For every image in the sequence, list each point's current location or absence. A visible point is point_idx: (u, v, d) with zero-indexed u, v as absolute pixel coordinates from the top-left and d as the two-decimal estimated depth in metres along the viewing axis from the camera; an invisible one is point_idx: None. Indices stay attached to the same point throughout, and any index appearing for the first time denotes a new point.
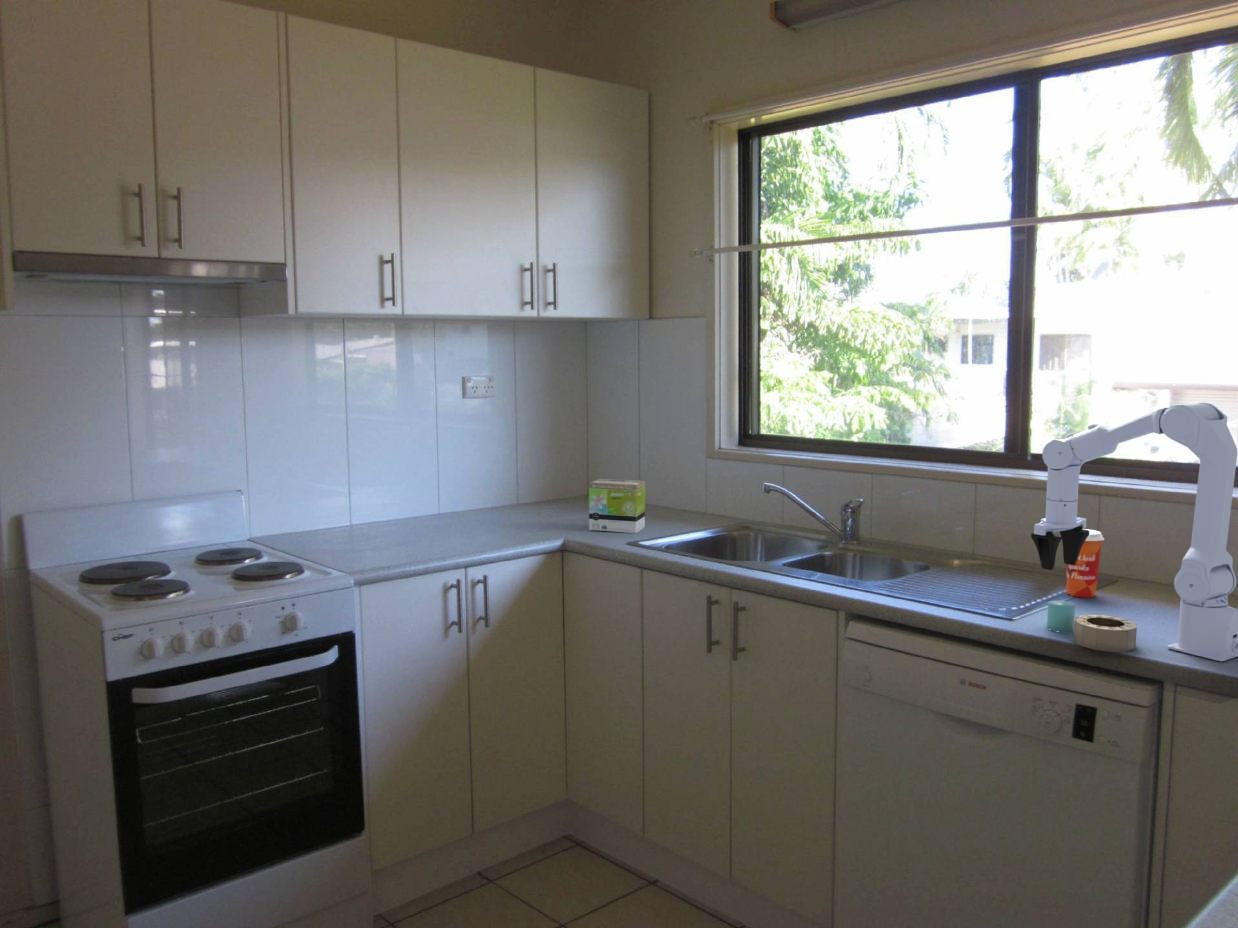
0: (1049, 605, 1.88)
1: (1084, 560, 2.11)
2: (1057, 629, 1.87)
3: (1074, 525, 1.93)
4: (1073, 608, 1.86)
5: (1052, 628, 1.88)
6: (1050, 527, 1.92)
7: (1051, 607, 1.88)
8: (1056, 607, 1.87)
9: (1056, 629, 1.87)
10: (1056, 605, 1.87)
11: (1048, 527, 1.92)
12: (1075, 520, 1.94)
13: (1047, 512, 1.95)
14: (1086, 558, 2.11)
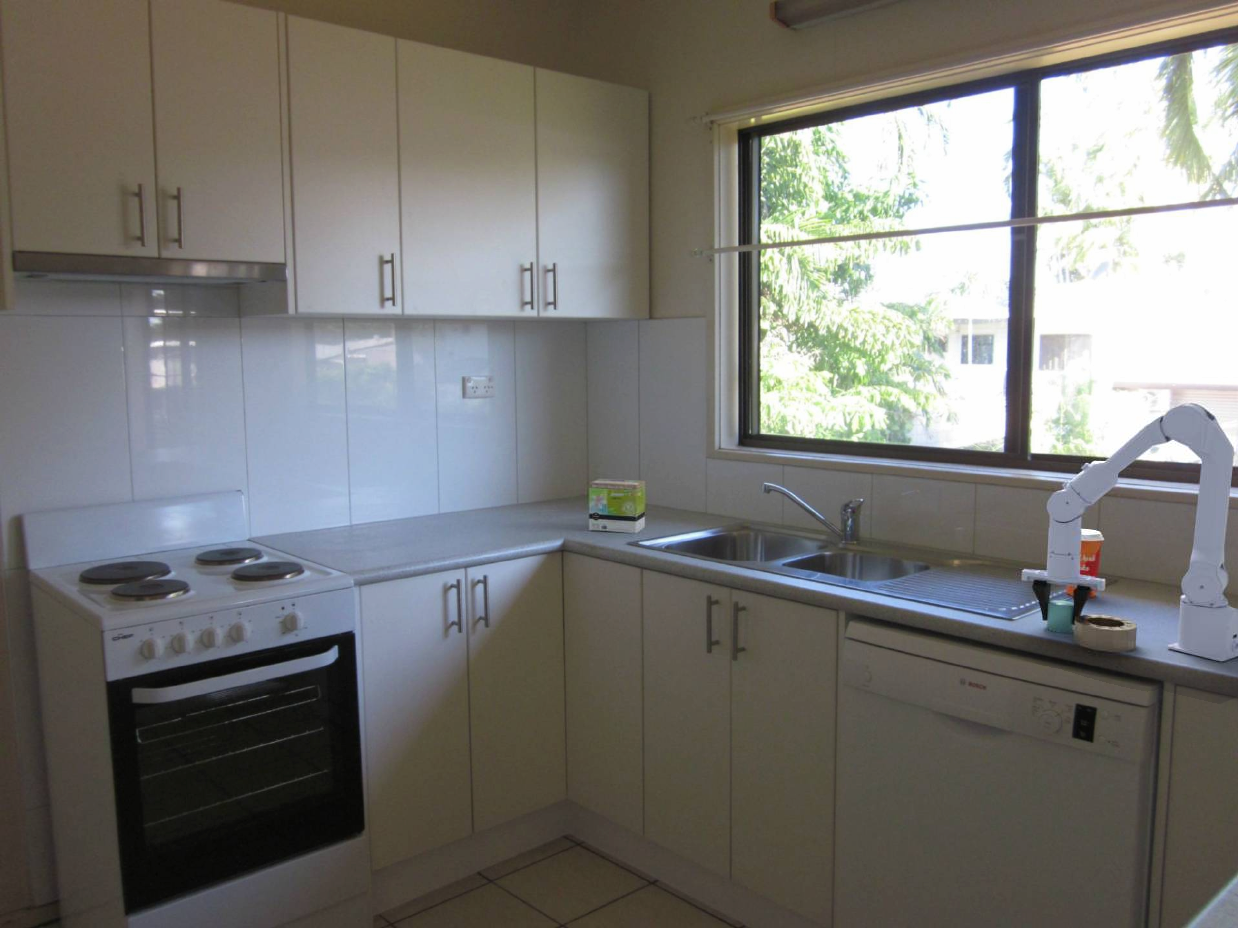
0: (1049, 605, 1.88)
1: (1084, 560, 2.11)
2: (1057, 629, 1.87)
3: (1058, 579, 1.85)
4: (1073, 608, 1.86)
5: (1052, 628, 1.88)
6: (1032, 575, 1.90)
7: (1051, 607, 1.88)
8: (1056, 607, 1.87)
9: (1056, 629, 1.87)
10: (1056, 605, 1.87)
11: (1029, 574, 1.90)
12: (1062, 575, 1.85)
13: None
14: (1086, 558, 2.11)
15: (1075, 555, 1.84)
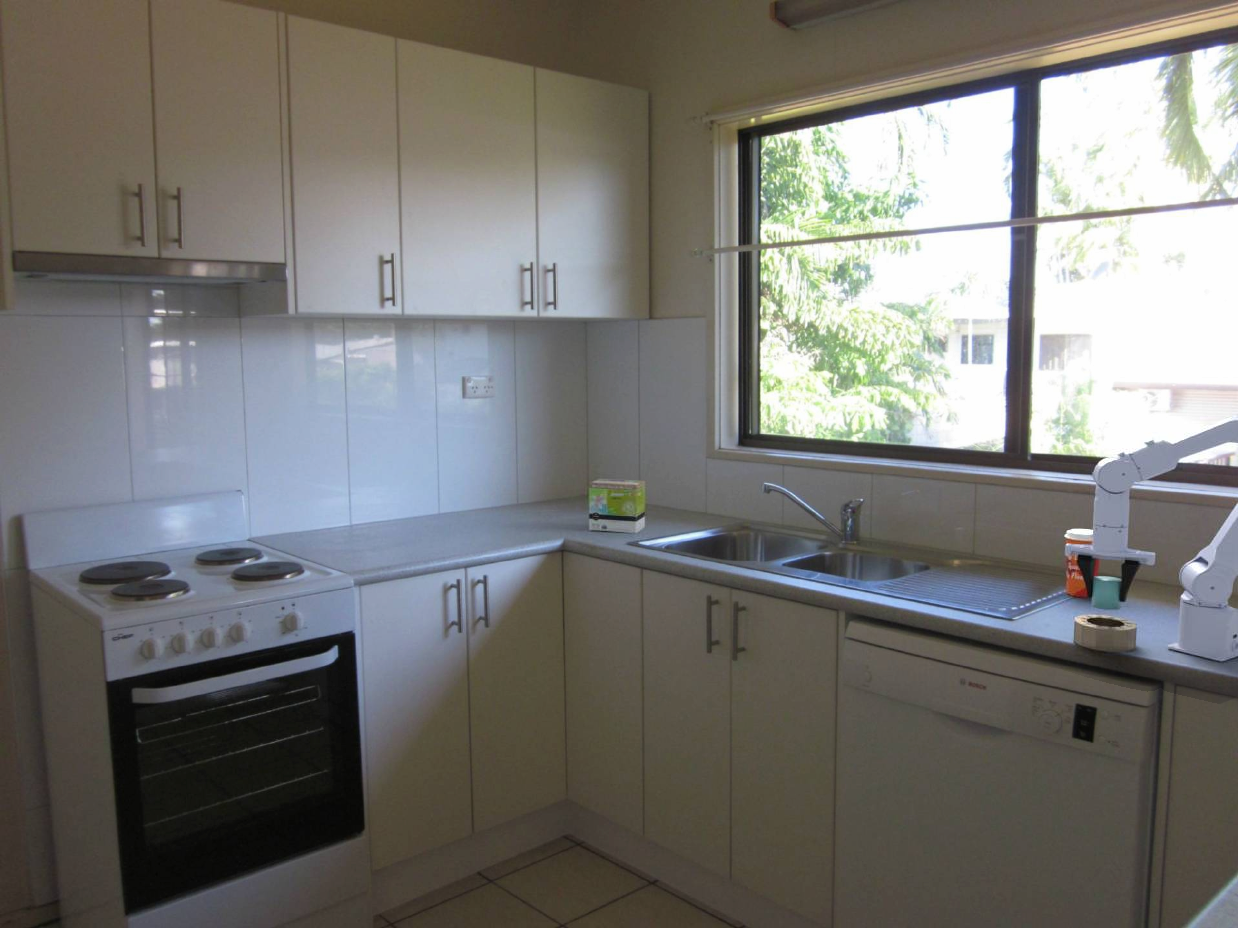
0: (1095, 581, 1.78)
1: None
2: (1104, 606, 1.77)
3: (1104, 553, 1.75)
4: (1120, 584, 1.76)
5: (1098, 605, 1.77)
6: (1076, 549, 1.79)
7: (1097, 583, 1.77)
8: (1103, 583, 1.76)
9: (1102, 606, 1.77)
10: (1102, 581, 1.77)
11: (1073, 548, 1.80)
12: (1109, 548, 1.75)
13: None
14: None
15: (1123, 527, 1.74)
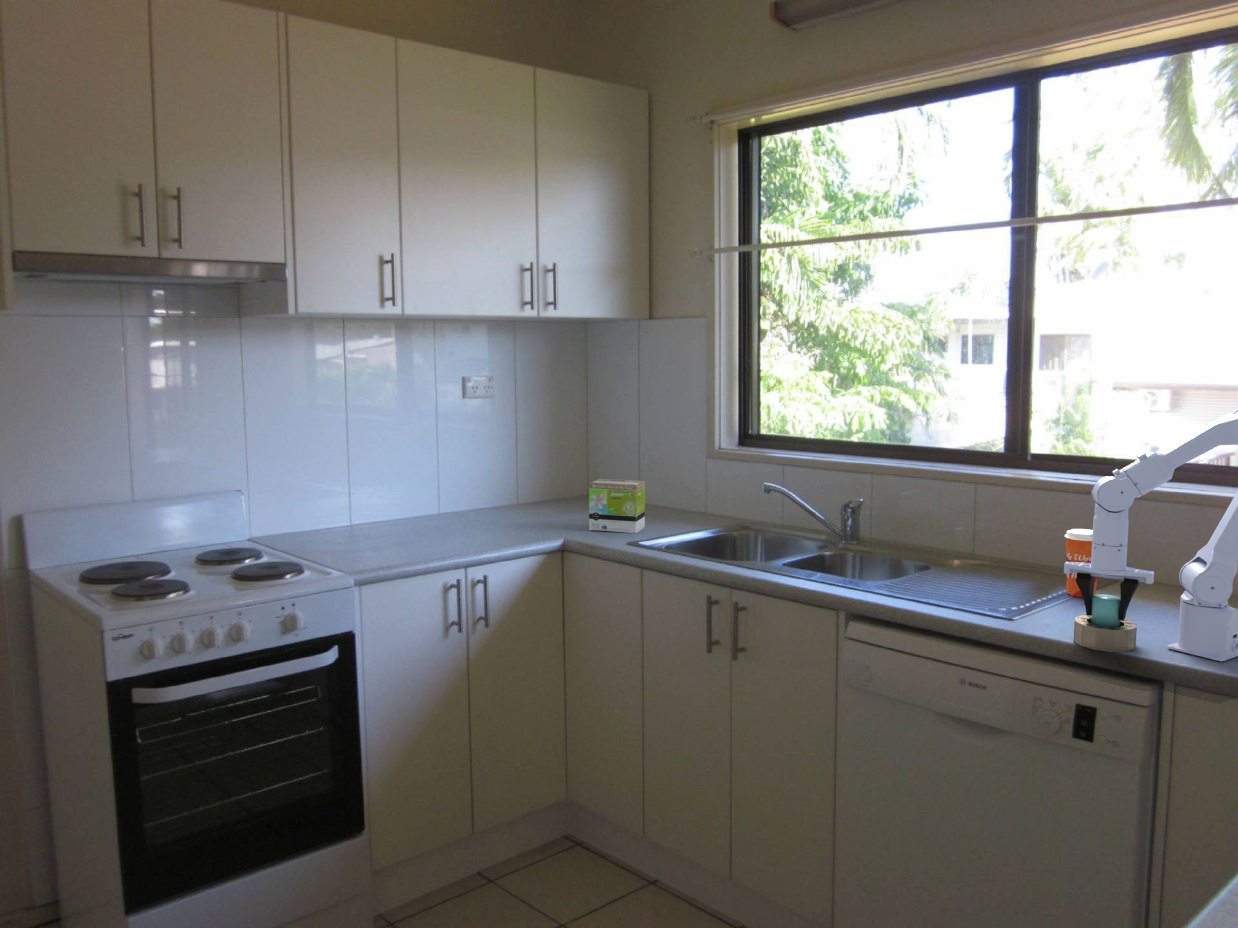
0: (1094, 599, 1.78)
1: (1084, 560, 2.11)
2: (1103, 624, 1.77)
3: (1103, 572, 1.75)
4: (1119, 602, 1.77)
5: (1097, 623, 1.78)
6: (1075, 567, 1.80)
7: (1096, 601, 1.78)
8: (1102, 601, 1.77)
9: (1102, 624, 1.77)
10: (1101, 599, 1.77)
11: (1072, 566, 1.80)
12: (1108, 567, 1.75)
13: None
14: (1086, 558, 2.11)
15: (1122, 546, 1.75)
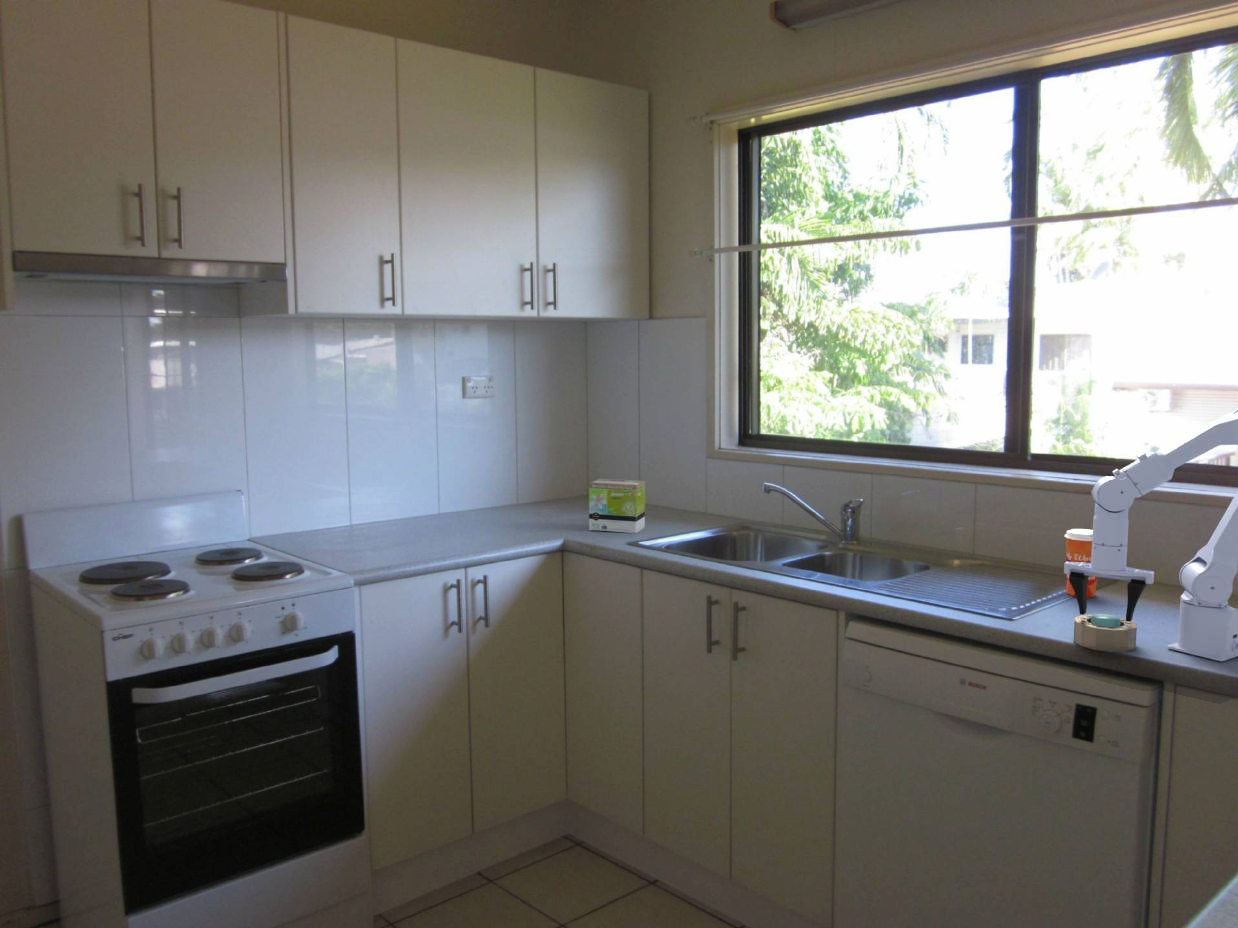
0: (1093, 619, 1.79)
1: (1084, 560, 2.11)
2: None
3: (1103, 572, 1.75)
4: (1119, 622, 1.77)
5: None
6: (1075, 567, 1.80)
7: (1095, 621, 1.78)
8: (1101, 621, 1.77)
9: None
10: (1101, 619, 1.78)
11: (1072, 566, 1.80)
12: (1108, 567, 1.75)
13: None
14: (1086, 558, 2.11)
15: (1122, 546, 1.75)
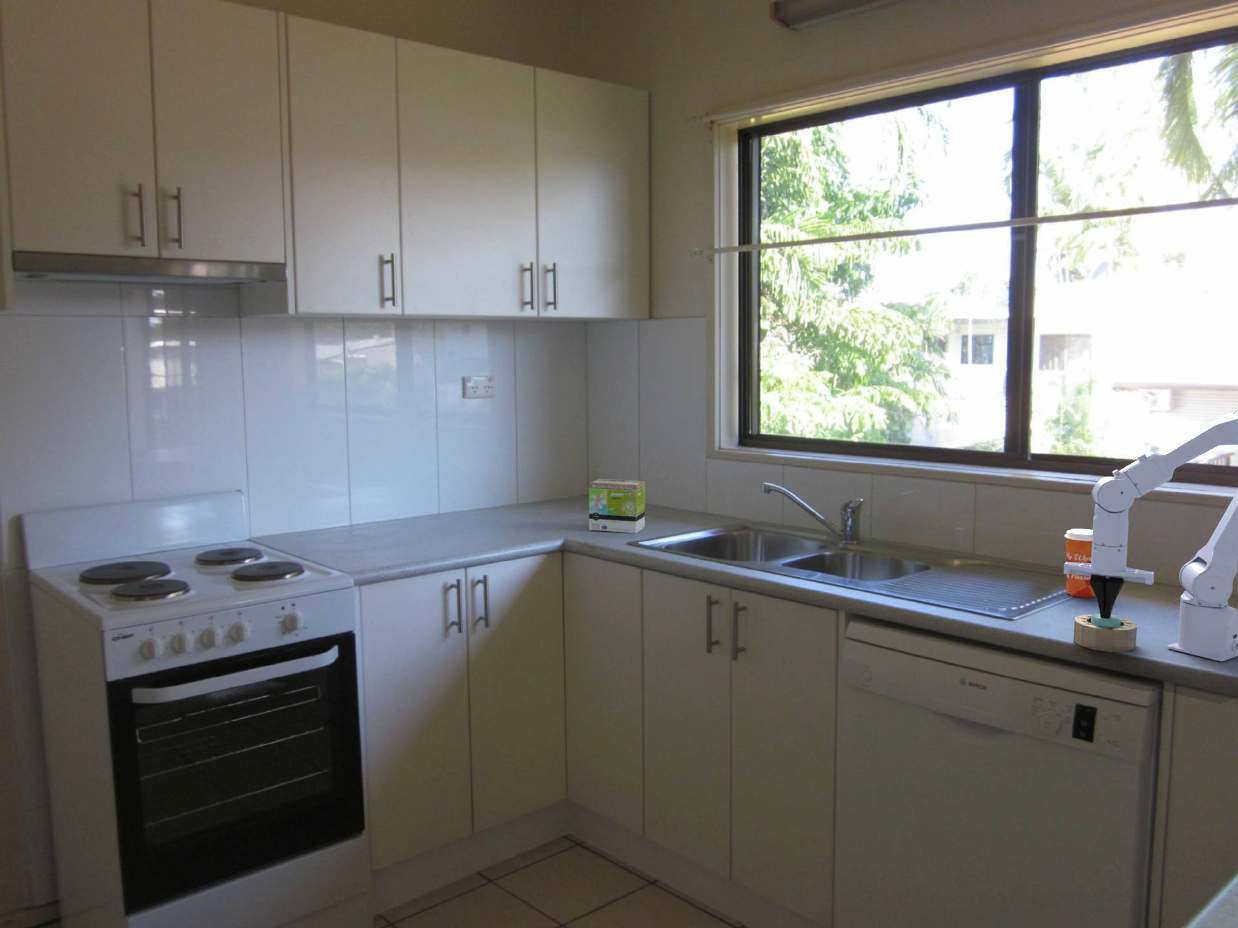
0: (1093, 618, 1.79)
1: (1084, 560, 2.11)
2: None
3: (1103, 572, 1.75)
4: (1119, 622, 1.77)
5: None
6: (1075, 568, 1.80)
7: (1095, 621, 1.78)
8: (1101, 621, 1.77)
9: None
10: (1101, 618, 1.78)
11: (1072, 567, 1.80)
12: (1108, 568, 1.75)
13: None
14: (1086, 558, 2.11)
15: (1122, 547, 1.75)
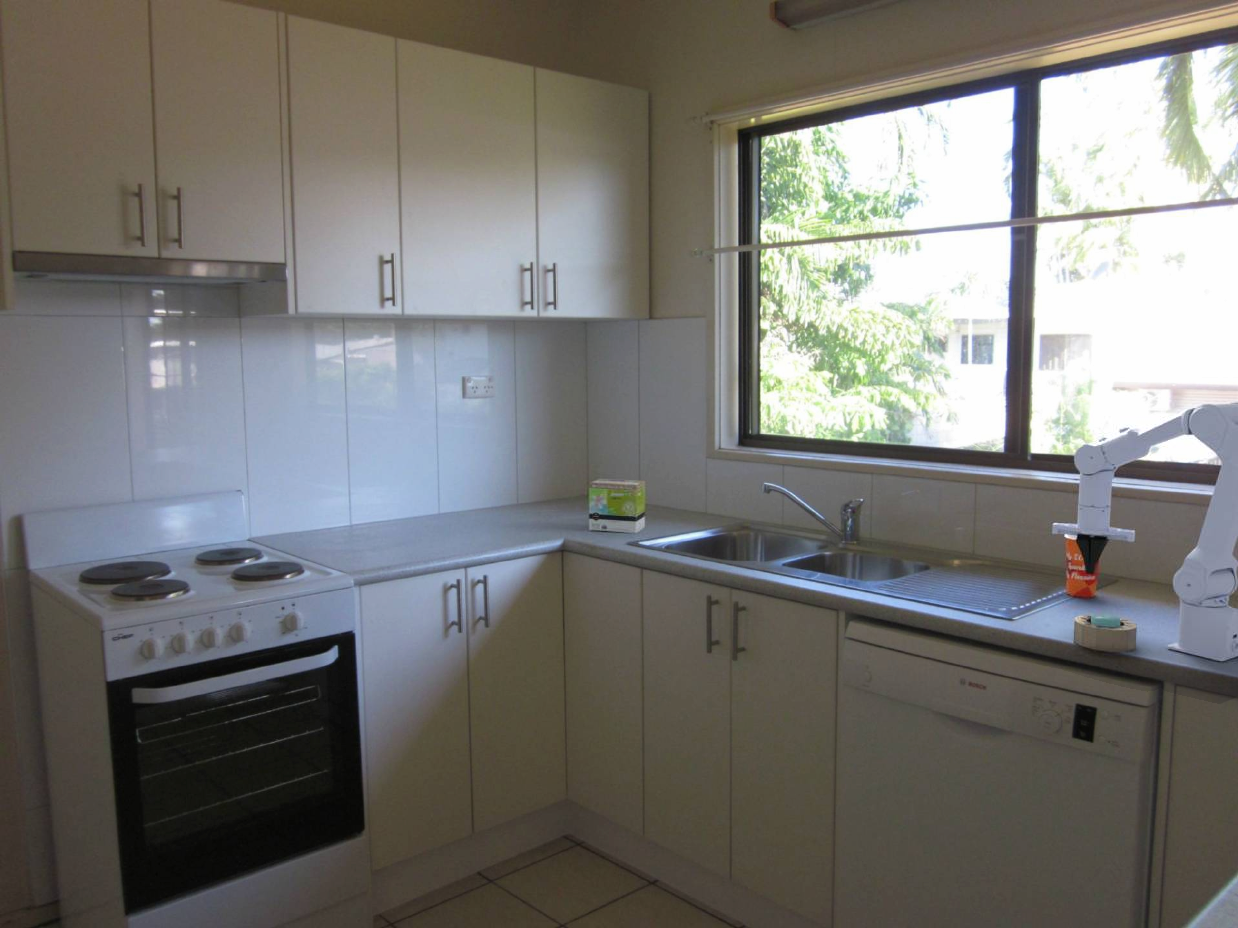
0: (1093, 619, 1.79)
1: None
2: None
3: (1088, 531, 1.90)
4: (1119, 622, 1.77)
5: None
6: (1062, 527, 1.95)
7: (1095, 621, 1.78)
8: (1101, 621, 1.77)
9: None
10: (1101, 619, 1.78)
11: (1059, 527, 1.95)
12: (1093, 527, 1.90)
13: None
14: None
15: (1106, 507, 1.89)
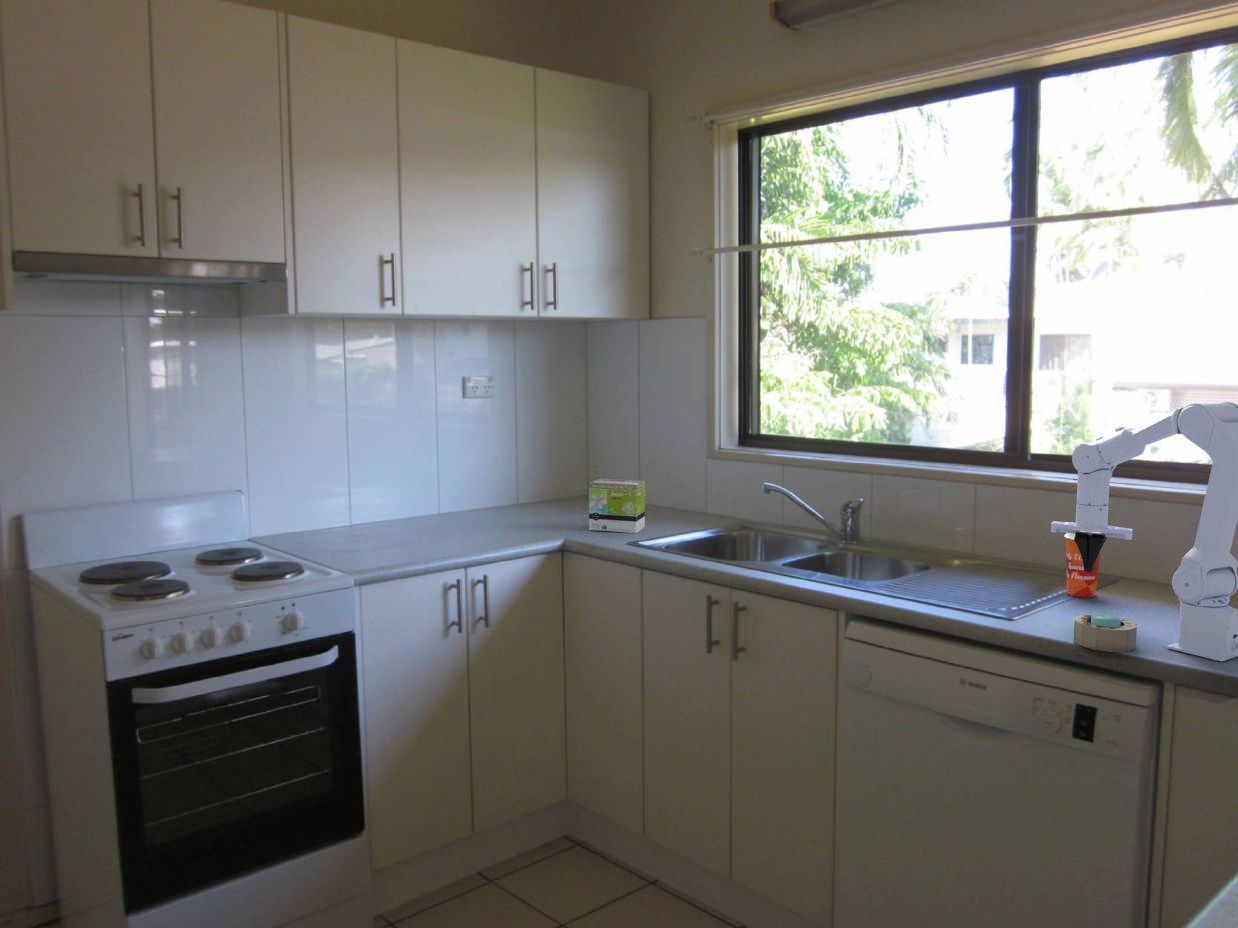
0: (1093, 619, 1.79)
1: None
2: None
3: (1086, 529, 1.93)
4: (1119, 622, 1.77)
5: None
6: (1061, 526, 1.97)
7: (1095, 621, 1.78)
8: (1101, 621, 1.77)
9: None
10: (1101, 619, 1.78)
11: (1058, 525, 1.97)
12: (1091, 525, 1.92)
13: None
14: None
15: (1103, 506, 1.92)
